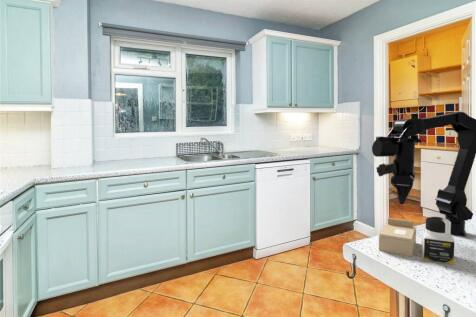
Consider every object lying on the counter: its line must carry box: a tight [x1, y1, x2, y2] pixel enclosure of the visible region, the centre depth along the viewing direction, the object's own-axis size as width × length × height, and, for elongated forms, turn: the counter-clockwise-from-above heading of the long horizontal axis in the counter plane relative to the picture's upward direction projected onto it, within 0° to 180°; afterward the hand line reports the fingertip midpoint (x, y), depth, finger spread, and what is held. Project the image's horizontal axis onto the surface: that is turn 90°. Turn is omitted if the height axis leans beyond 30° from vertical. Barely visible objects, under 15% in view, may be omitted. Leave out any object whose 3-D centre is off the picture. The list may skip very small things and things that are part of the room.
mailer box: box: [378, 228, 417, 257], centre depth 94 cm, size 12×9×5 cm
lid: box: [379, 217, 416, 241], centre depth 94 cm, size 12×9×3 cm
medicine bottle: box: [421, 216, 456, 265], centre depth 86 cm, size 7×7×12 cm
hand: (402, 201), depth 102 cm, fingers open, 9 cm apart
